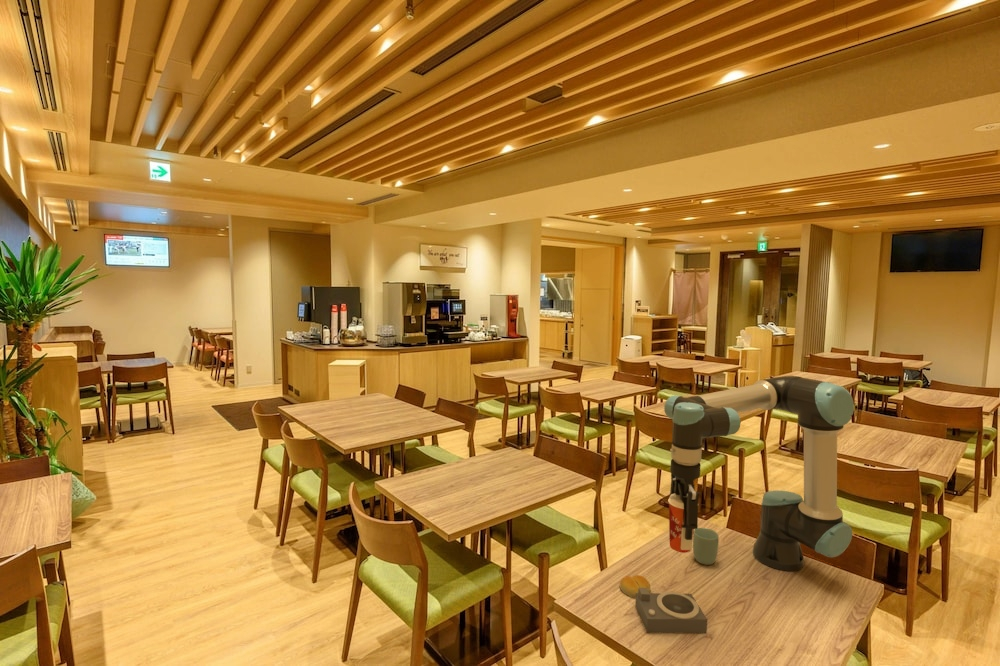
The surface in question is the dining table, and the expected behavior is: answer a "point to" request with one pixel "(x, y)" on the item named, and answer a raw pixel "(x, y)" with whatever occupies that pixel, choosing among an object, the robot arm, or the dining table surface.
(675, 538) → the paper cup
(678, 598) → the block
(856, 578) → the dining table surface
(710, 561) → the cup
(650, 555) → the dining table surface
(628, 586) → the bread roll
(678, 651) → the dining table surface
